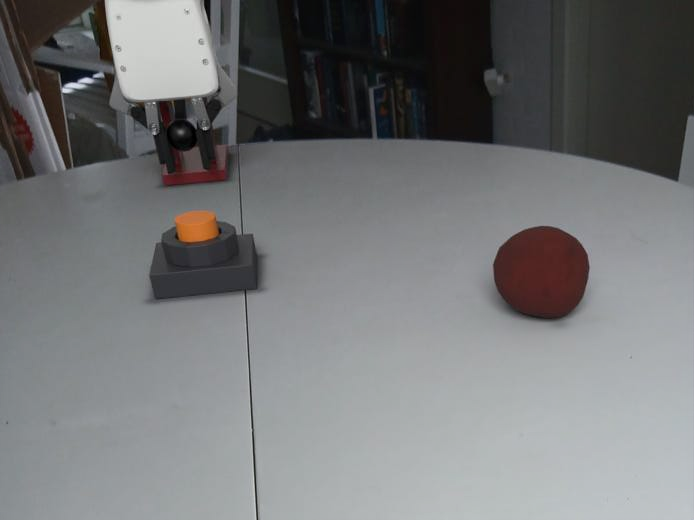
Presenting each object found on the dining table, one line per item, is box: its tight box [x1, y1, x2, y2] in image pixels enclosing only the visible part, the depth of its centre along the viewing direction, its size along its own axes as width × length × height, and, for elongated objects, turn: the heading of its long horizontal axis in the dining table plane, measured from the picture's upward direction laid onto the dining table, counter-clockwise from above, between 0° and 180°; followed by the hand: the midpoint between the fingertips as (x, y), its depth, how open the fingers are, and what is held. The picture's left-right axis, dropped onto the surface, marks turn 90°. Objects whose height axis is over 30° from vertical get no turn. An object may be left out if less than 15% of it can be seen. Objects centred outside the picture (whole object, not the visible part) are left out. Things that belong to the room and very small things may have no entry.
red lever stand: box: [159, 96, 230, 186], centre depth 112 cm, size 10×7×12 cm
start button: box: [174, 210, 219, 242], centre depth 88 cm, size 4×4×2 cm
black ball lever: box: [167, 99, 198, 152], centre depth 108 cm, size 12×3×3 cm, turn 9°
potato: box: [492, 225, 591, 319], centre depth 81 cm, size 7×8×7 cm
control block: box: [148, 220, 258, 300], centre depth 90 cm, size 9×8×4 cm
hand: (189, 166), depth 109 cm, fingers closed on black ball lever, 3 cm apart
